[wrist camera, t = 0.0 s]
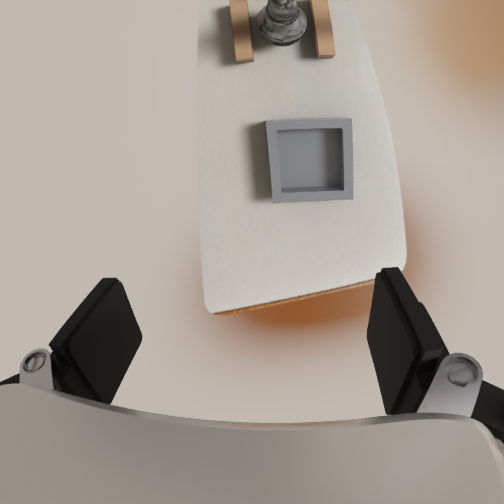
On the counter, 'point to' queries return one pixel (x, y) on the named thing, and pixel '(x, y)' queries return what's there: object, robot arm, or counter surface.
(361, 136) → the counter surface
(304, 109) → the counter surface
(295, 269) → the counter surface
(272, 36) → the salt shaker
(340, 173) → the square tray
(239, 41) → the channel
